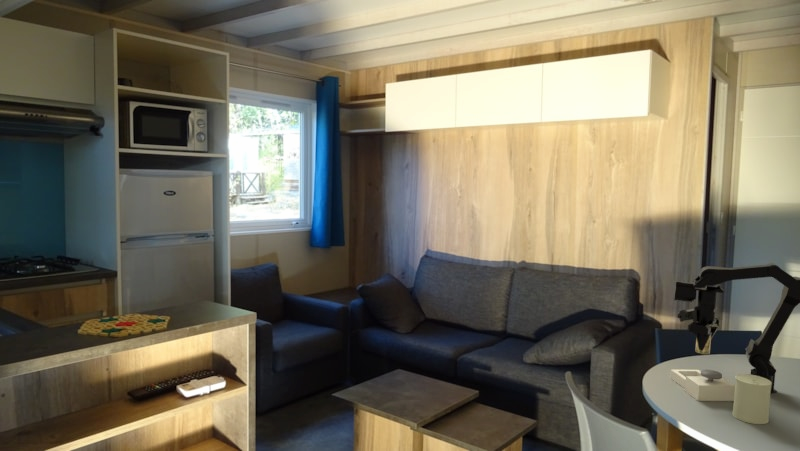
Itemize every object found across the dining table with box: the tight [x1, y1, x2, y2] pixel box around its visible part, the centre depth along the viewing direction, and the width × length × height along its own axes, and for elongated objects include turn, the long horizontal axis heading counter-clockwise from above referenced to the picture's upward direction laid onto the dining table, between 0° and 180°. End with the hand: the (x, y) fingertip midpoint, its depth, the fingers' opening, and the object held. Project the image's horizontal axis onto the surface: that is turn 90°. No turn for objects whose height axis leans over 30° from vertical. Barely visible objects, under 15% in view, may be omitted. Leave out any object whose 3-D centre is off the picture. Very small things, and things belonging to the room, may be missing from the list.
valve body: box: [669, 369, 735, 402], centre depth 193 cm, size 12×20×8 cm, turn 2°
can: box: [731, 373, 772, 425], centre depth 171 cm, size 9×9×12 cm
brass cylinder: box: [694, 336, 712, 355], centre depth 200 cm, size 4×4×6 cm
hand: (702, 348), depth 200 cm, fingers closed on brass cylinder, 4 cm apart
